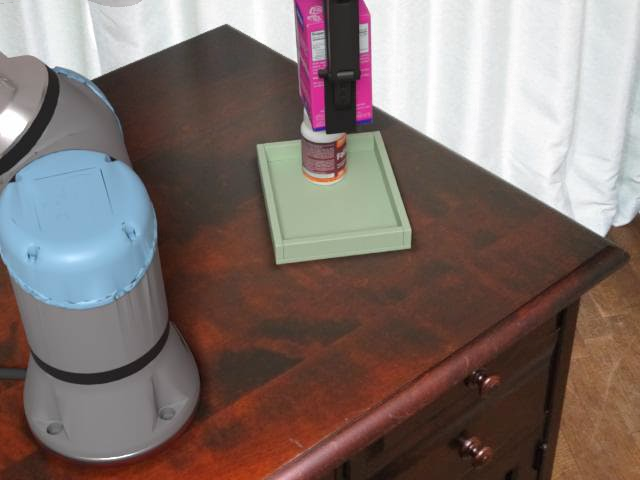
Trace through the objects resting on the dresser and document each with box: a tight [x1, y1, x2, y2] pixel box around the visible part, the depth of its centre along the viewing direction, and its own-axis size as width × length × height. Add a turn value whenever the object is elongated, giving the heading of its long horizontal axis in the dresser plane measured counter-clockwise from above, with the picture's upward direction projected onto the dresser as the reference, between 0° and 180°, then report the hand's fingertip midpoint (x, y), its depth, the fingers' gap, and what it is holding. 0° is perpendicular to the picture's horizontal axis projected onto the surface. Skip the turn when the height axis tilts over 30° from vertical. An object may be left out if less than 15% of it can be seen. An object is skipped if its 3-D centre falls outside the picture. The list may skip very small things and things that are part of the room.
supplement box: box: [292, 0, 374, 132], centre depth 102 cm, size 6×6×12 cm
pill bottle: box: [300, 106, 347, 186], centre depth 121 cm, size 5×5×8 cm
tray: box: [255, 130, 413, 265], centre depth 120 cm, size 14×17×2 cm
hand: (335, 108), depth 105 cm, fingers closed on supplement box, 6 cm apart
